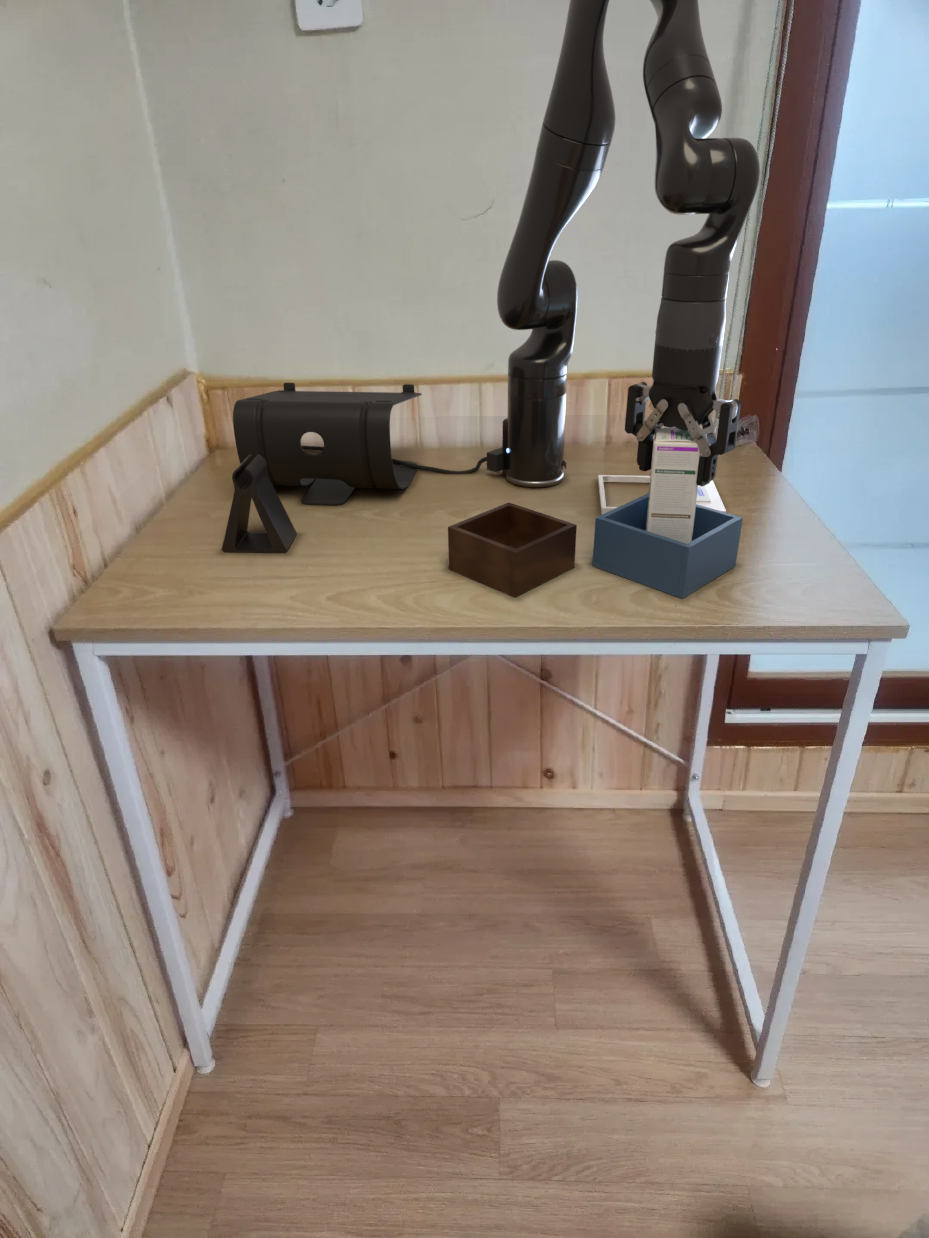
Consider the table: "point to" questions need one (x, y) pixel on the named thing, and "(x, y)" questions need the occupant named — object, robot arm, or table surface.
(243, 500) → the phone stand
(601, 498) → the photo frame
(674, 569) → the blue tote
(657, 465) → the syrup box
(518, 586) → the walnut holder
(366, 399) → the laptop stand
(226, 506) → the table surface
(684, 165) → the robot arm
